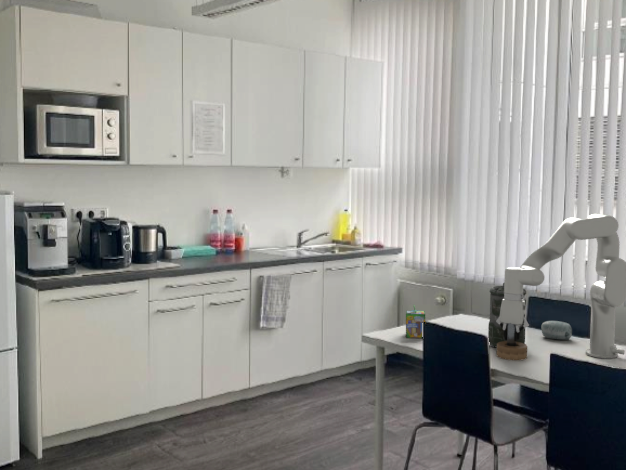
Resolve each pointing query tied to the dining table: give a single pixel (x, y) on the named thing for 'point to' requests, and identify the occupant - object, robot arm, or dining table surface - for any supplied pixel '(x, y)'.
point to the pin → (511, 335)
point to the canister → (494, 328)
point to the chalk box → (414, 323)
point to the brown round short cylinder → (511, 351)
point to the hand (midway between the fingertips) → (511, 339)
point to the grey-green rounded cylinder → (556, 330)
